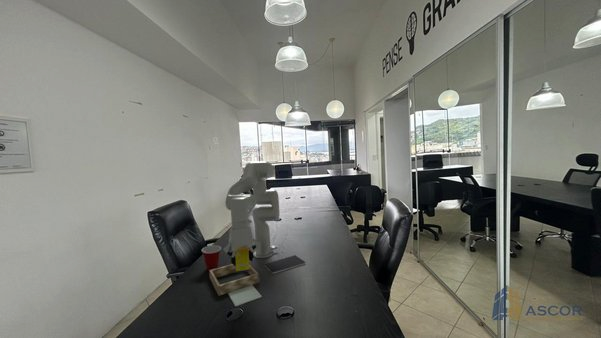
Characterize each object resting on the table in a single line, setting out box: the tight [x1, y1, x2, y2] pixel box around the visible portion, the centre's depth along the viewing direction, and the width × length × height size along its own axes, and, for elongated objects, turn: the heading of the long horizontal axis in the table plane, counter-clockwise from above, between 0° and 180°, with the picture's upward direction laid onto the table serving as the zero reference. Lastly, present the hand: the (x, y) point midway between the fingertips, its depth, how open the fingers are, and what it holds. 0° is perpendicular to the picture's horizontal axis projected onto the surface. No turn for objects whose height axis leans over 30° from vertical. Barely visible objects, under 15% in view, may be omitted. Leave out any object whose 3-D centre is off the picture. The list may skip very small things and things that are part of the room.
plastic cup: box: [201, 244, 222, 271], centre depth 142 cm, size 11×11×12 cm
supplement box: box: [235, 247, 251, 274], centre depth 111 cm, size 6×6×11 cm
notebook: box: [263, 254, 306, 274], centre depth 142 cm, size 13×2×21 cm
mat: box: [227, 284, 262, 307], centre depth 112 cm, size 12×12×1 cm
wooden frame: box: [208, 263, 260, 297], centre depth 127 cm, size 20×20×4 cm
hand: (242, 262), depth 111 cm, fingers closed on supplement box, 7 cm apart
